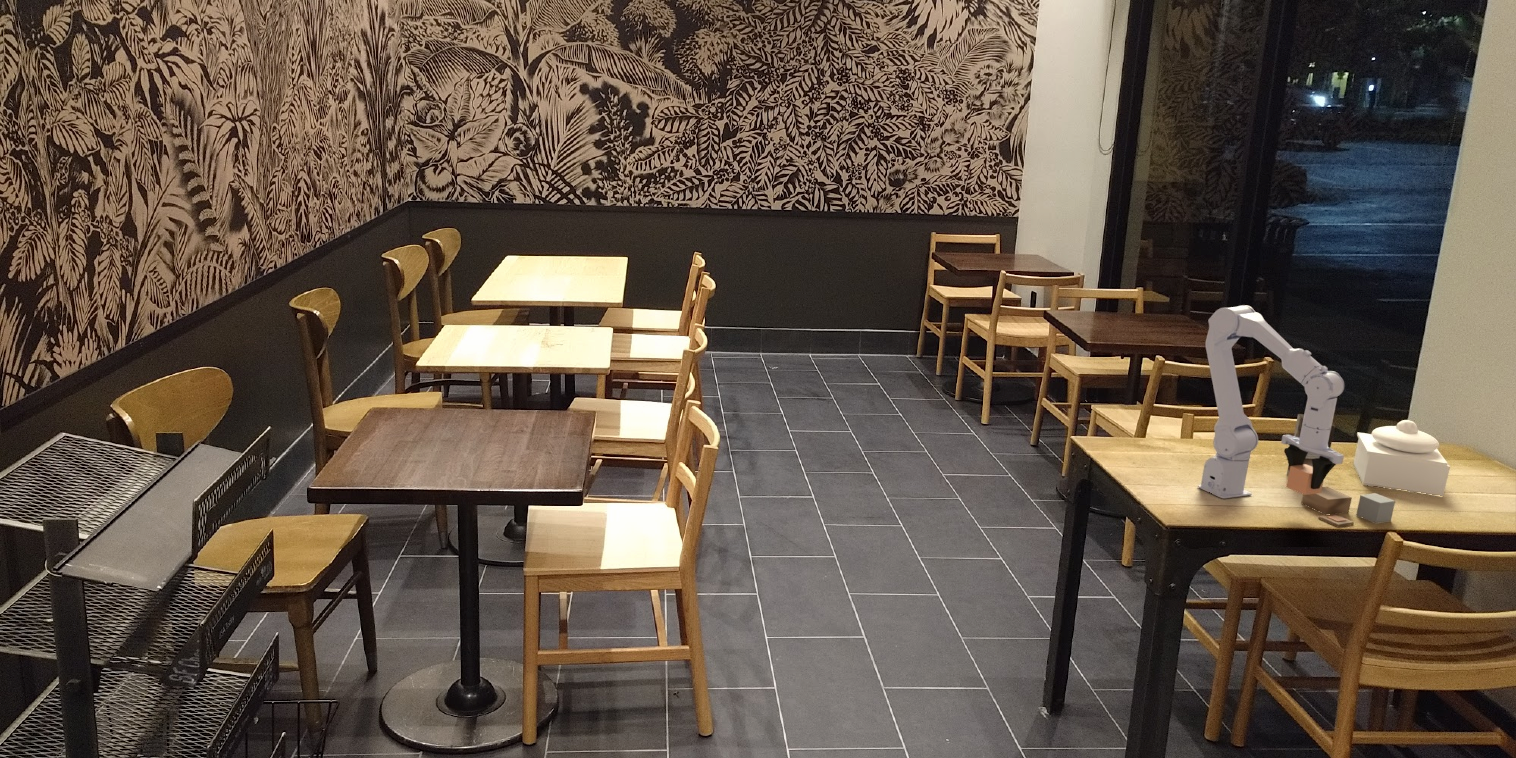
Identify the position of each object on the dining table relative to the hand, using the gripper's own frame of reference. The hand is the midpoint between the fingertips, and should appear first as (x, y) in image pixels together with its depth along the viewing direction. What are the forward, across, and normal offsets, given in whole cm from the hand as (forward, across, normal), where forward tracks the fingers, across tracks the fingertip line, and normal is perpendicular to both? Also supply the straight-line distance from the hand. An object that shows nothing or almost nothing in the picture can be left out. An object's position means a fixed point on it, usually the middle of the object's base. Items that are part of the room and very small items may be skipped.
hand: (1304, 483), depth 250 cm
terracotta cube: (+1, 0, 0) cm, 1 cm away
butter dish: (+8, +11, -48) cm, 50 cm away
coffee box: (+8, +17, -22) cm, 29 cm away
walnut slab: (+8, +2, -11) cm, 14 cm away
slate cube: (+8, -6, -17) cm, 20 cm away
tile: (+8, -5, -6) cm, 11 cm away
